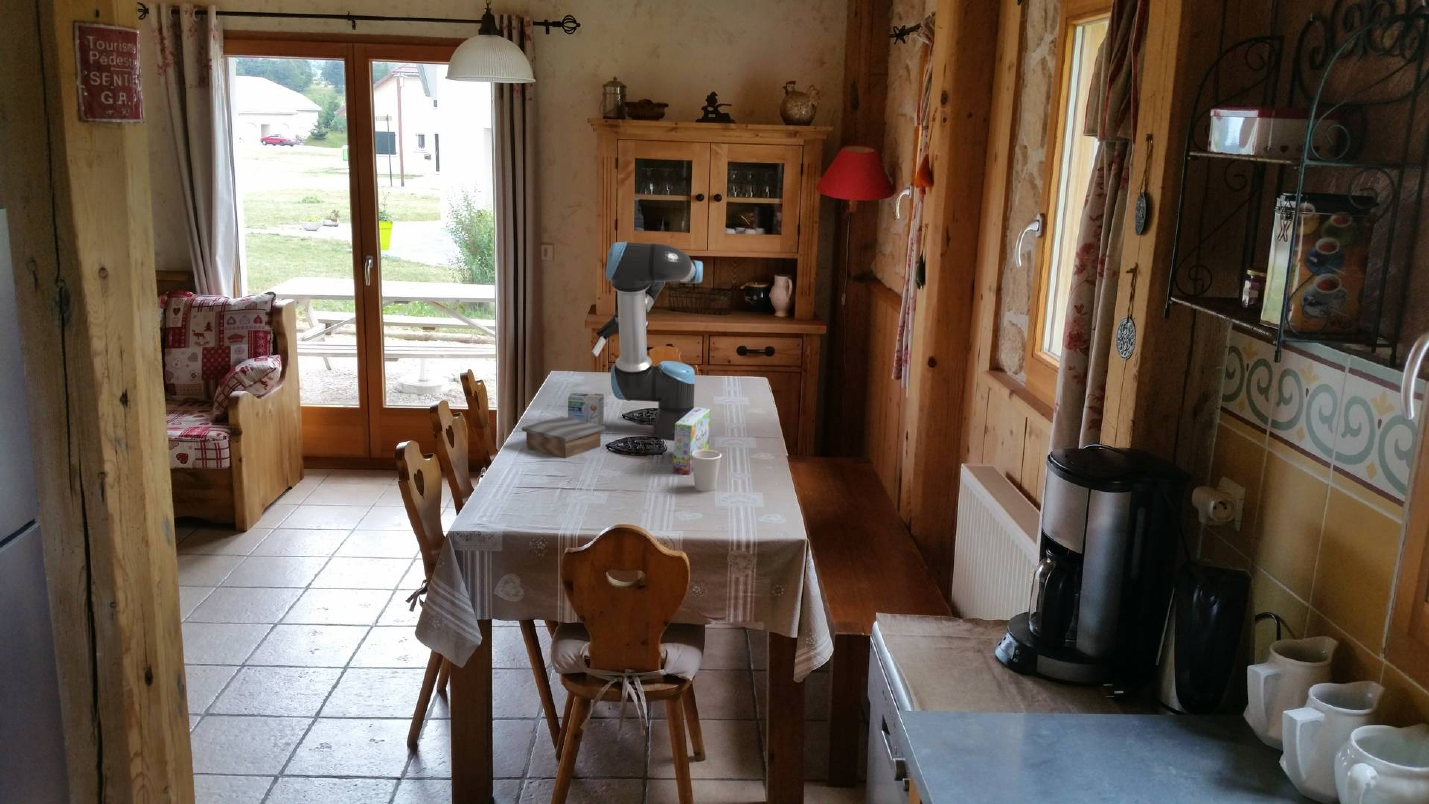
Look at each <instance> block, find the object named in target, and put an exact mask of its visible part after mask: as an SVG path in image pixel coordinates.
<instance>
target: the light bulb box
mask: <svg viewBox="0 0 1429 804" xmlns="http://www.w3.org/2000/svg"><path fill="white" fill-rule="evenodd" d="M567 397H568V398H567V418H572V419H576V420H580V421H585V422H589V423H593V424H598V425H602V426H604V413H605V412H604V410H605V407H604V406H605V403H604V402H605V394H604V393H595V392H582V391H573V392H571V393H570V394H569V395H568V396H567Z"/></svg>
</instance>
